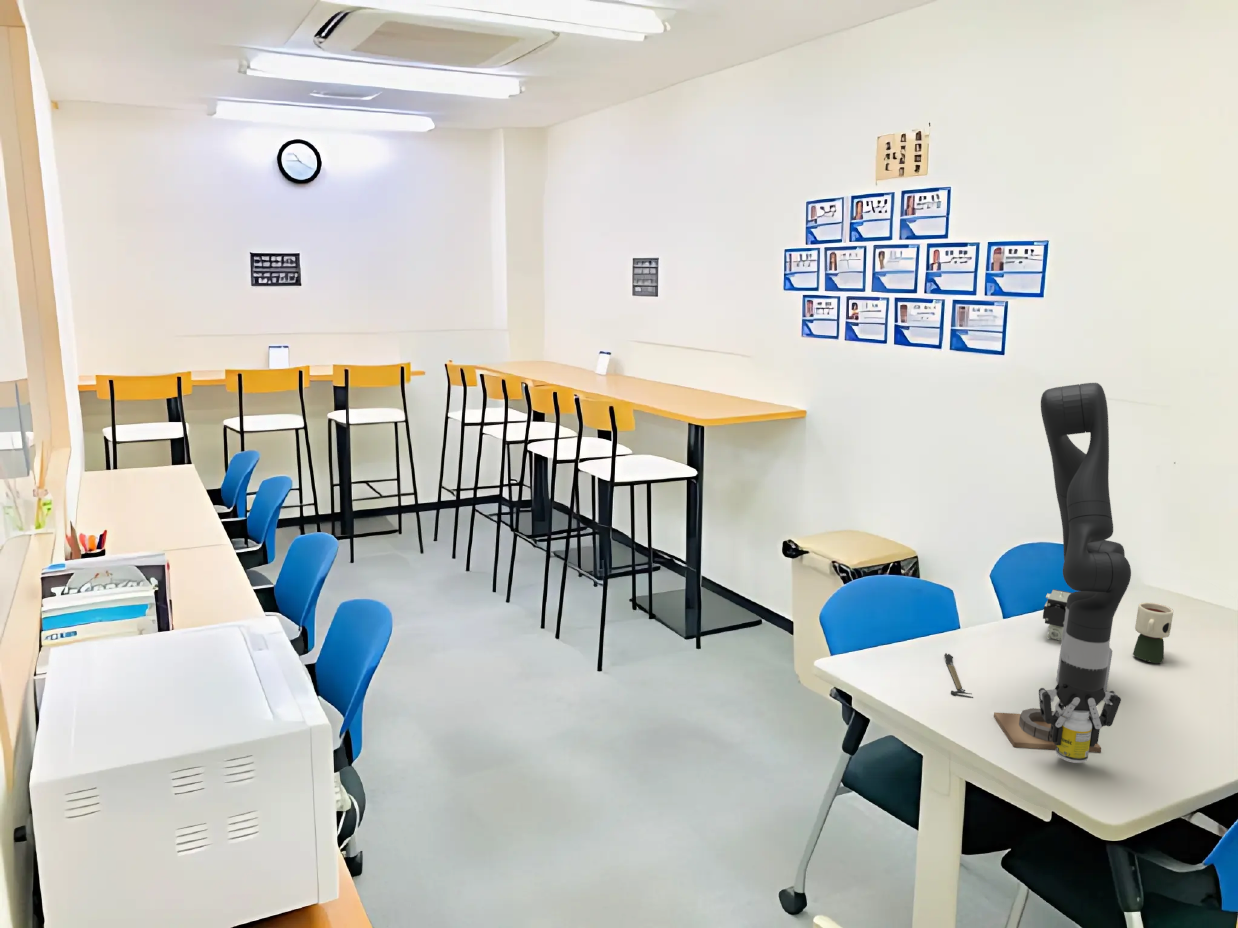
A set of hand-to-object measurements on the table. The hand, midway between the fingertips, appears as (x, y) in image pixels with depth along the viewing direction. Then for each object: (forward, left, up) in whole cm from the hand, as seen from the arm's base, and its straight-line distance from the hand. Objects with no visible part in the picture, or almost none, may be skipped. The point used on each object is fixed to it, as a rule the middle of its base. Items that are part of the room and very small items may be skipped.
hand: (1072, 743), depth 169 cm
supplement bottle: (0, 0, -3) cm, 3 cm away
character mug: (-37, -51, -4) cm, 63 cm away
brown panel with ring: (+1, -11, -4) cm, 12 cm away
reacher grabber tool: (+10, -35, -5) cm, 37 cm away
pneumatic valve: (-20, -62, -4) cm, 65 cm away
